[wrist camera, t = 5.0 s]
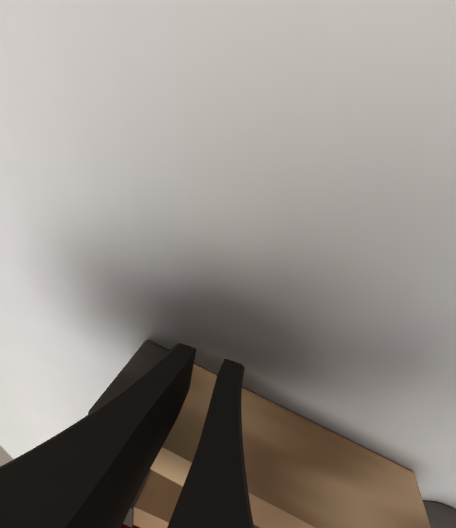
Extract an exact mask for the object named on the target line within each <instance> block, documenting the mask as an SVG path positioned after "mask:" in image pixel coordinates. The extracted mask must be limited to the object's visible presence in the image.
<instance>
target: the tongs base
mask: <svg viewBox="0 0 456 528" xmlns="http://www.w3.org/2000/svg"><path fill="white" fill-rule="evenodd" d="M182 488H183V486H181V485H179V484H177V483H175V482H173V481H172V480H170V479H168V478H166V477H164V476H162V475H160V474H158V473H157V472H155V471H153V470H151V469H150V470H149V472H148V474H147V475H146V477H145V479H144V481H143V483H142V485H141V487H140V489H139V491H138V493H137V495H136V497H135V499H134V501H133V503H132V505H131V507H130V509H129V511H128V514H127V516H126V518H125V520H124V523H123V524H125V525H127V526H129V527H131V528H132V526H133V525H136V526H138V527H140V528H167V527H168V524H169V522H170V519H171V517H172V514H173V511H174V509H175V506H176V504H177V501H178V498H179V496H180V493H181V491H182ZM423 504H424V507H425V510H426V514H427V517H428V520H429V524H430V527H431V528H456V510H455V509H453V508H451V507H449V506H446V505H443V504H440V503H435V502H429V501H423ZM253 525H254V524H253ZM254 528H259V527H258V526H256V525H254Z"/></svg>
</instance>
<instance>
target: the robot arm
mask: <svg viewBox="0 0 456 528" xmlns="http://www.w3.org/2000/svg"><path fill="white" fill-rule="evenodd" d="M195 352H196V349H195V348H192V347H189V346H186V345H183V344H181V343H179V344H177V345H176V346H174V347H173V348H172V349H171V350H170V351H169V352H168V353H167V354H166V355H165V356H164V357H163V358H162V359H160V360H159V361H158V362H157V363H156V364H155V365H153V366H152V367H151V368H150V369H149V370H148V371H146V372H145V373H144V374H143V375H141V376H140V377H139V378H138V379H136V380H135V381H134V382H133V383H131V384H130V385H129V386H128V387H126V388H125V389H124V390H122V391H121V392H120V393H118V394H117V395H116V396H114V397H113V398H111V399H110V400H109V401H107V402H106V403H105V404H103V405H102V406H101V407H99V408H98V409H96V410H95V411H93V412H92V413H90V414H89V415H87V416H86V417H84V418H83V419H81V420H80V421H78V422H77V423H75V424H74V425H72V426H70V427H69V428H67V429H66V430H64V431H62V432H61V433H59V434H57V435H56V436H54V437H52V438H51V439H49V440H47V441H46V442H44V443H42V444H40V445H39V446H37V447H35V448H34V449H32V450H30V451H28V452H27V453H25V454H23V455H21V456H19V457H18V458H16V459H14V460H12V461H10V462H8V463H6V464H5V465H3V466H1V467H0V528H121V527H122V525H123V523H124V520H125V518H126V516H127V514H128V511H129V509H130V507H131V505H132V503H133V501H134V499H135V497H136V495H137V493H138V491H139V489H140V487H141V485H142V483H143V481H144V479H145V477H146V475H147V474H148V472H149V470H150V468H151V466H152V464H153V463H154V461H155V459H156V457H157V455H158V453H159V451H160V450H161V448H162V446H163V444H164V442H165V440H166V438H167V437H168V435H169V433H170V431H171V429H172V427H173V425H174V423H175V422H176V420H177V418H178V415H179V413H180V411H181V408H182V406H183V404H184V401H185V399H186V396H187V394H188V391H189V389H190V383H191V377H192V371H193V364H194V358H195ZM244 369H245V368H244V366H243V365H242V364H240V363H237V362H234V361H231V360H228V359H224V361H223V364H222V366H221V368H220V371H219V373H218V375H217V378H216V382H215V386H214V389H213V393H212V397H211V400H210V404H209V408H208V412H207V415H206V419H205V423H204V426H203V430H202V434H201V437H200V441H199V444H198V447H197V450H196V453H195V456H194V459H193V462H192V464H191V467H190V469H189V472H188V475H187V477H186V480H185V483H184V485H183V488H182V491H181V493H180V496H179V498H178V501H177V504H176V506H175V509H174V511H173V514H172V517H171V519H170V522H169V524H168V527H167V528H254V525H253V519H252V513H251V507H250V500H249V493H248V486H247V478H246V470H245V460H244V450H243V437H242V415H241V396H242V380H243V373H244Z"/></svg>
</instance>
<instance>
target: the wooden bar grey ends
mask: <svg viewBox="0 0 456 528" xmlns="http://www.w3.org/2000/svg"><path fill="white" fill-rule="evenodd" d="M168 352H169V350H167V349H165V348H163V347H161V346H159V345H157V344H155V343H152V342H150V341H148V340H146V341H145V342H144V343H143V345H142V346H141V347H140V348H139V350H138V351H137V352H136V353H135V354H134V356H133V357H132V358H131V359H130V361H129V362H128V363H127V364H126V366H125V367H124V368H123V369H122V371H121V372H120V373H119V374H118V376H117V377H116V378H115V379H114V381H113V382H112V383H111V384H110V386H109V387H108V388H107V389H106V391H105V392H104V393H103V394H102V396H101V397H100V398H99V399H98V401H97V402H96V403H95V404H94V405H93V407H92V408H91V409H90V410H89V413H88V415H89V414H90V413H92V412H93V411H95V410H96V409H98V408H99V407H101V406H102V405H103V404H105V403H106V402H107V401H109V400H110V399H111V398H113V397H114V396H116V395H117V394H118V393H120V392H121V391H122V390H124V389H125V388H126V387H128V386H129V385H130V384H131V383H133V382H134V381H135V380H136V379H138V378H139V377H140V376H141V375H143V374H144V373H145V372H146V371H148V370H149V369H150V368H151V367H152V366H153V365H155V364H156V363H157V362H158V361H159V360H160V359H162V358H163V357H164V356H165V355H166V354H167V353H168ZM216 378H217V375H215V374H213V373H211V372H209V371H207V370H205V369H203V368H201V367H199V366H197V365H195V364H193V371H192V377H191V383H190V389H189V391H188V394H187V396H186V399H185V401H184V404H183V406H182V408H181V411H180V413H179V415H178V418H177V420H176V422H175V423H174V425H173V427H172V429H171V431H170V433H169V435H168V437H167V438H166V440H165V442H164V444H163V446H162V448H161V450H160V451H159V453H158V455H157V457H156V459H155V461H154V463H153V464H152V466H151V468H150V469H151V470H153V471H155V472H157V473H158V474H160V475H162V476H164V477H166V478H168V479H170V480H172V481H173V482H175V483H177V484H179V485H181V486H183V485H184V483H185V480H186V477H187V475H188V472H189V469H190V467H191V464H192V462H193V459H194V456H195V453H196V450H197V447H198V444H199V441H200V437H201V434H202V430H203V426H204V423H205V419H206V415H207V412H208V408H209V404H210V400H211V397H212V393H213V389H214V386H215V382H216ZM241 415H242V437H243V450H244V460H245V470H246V478H247V486H248V493H249V500H250V507H251V513H252V519H253V524H254V525H256V526H258V527H259V528H431V527H430V524H429V520H428V517H427V514H426V510H425V507H424V504H423V501H422V497H421V494H420V491H419V487H418V484H417V481H416V477H415V474H414V472H412V471H410V470H408V469H406V468H404V467H402V466H400V465H398V464H396V463H394V462H392V461H390V460H388V459H386V458H383V457H381V456H379V455H377V454H375V453H373V452H371V451H369V450H367V449H365V448H363V447H361V446H359V445H357V444H355V443H353V442H351V441H349V440H347V439H345V438H343V437H341V436H339V435H337V434H335V433H333V432H331V431H329V430H327V429H325V428H323V427H321V426H319V425H317V424H315V423H313V422H311V421H309V420H307V419H305V418H303V417H300V416H298V415H296V414H294V413H292V412H290V411H288V410H286V409H284V408H282V407H280V406H278V405H276V404H274V403H272V402H270V401H268V400H266V399H264V398H262V397H260V396H258V395H256V394H254V393H252V392H250V391H248V390H246V389H244V388H242V396H241Z"/></svg>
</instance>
